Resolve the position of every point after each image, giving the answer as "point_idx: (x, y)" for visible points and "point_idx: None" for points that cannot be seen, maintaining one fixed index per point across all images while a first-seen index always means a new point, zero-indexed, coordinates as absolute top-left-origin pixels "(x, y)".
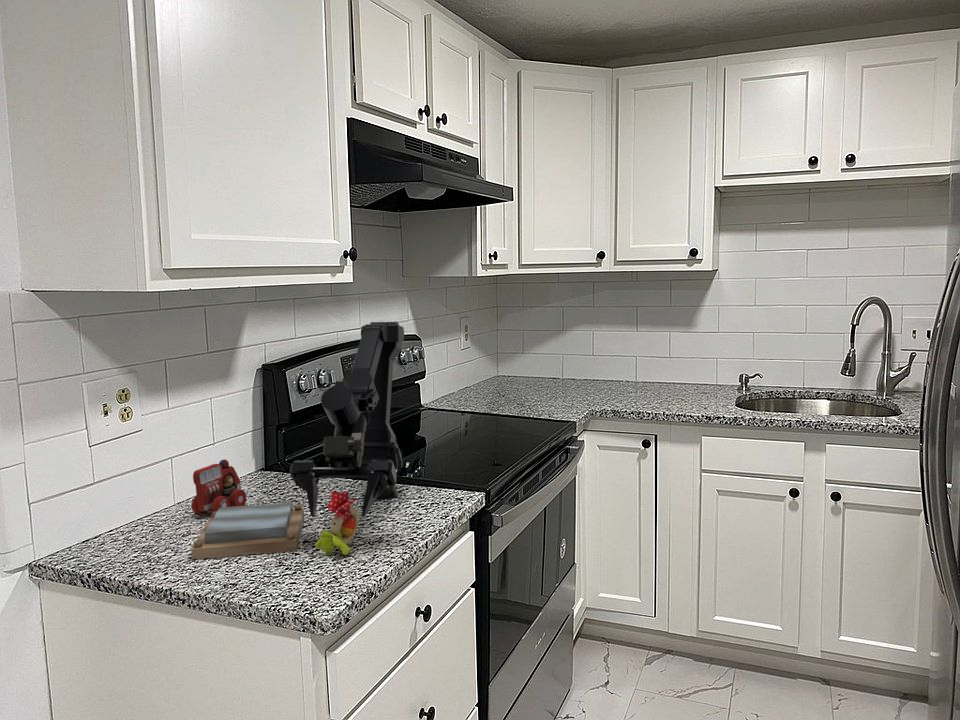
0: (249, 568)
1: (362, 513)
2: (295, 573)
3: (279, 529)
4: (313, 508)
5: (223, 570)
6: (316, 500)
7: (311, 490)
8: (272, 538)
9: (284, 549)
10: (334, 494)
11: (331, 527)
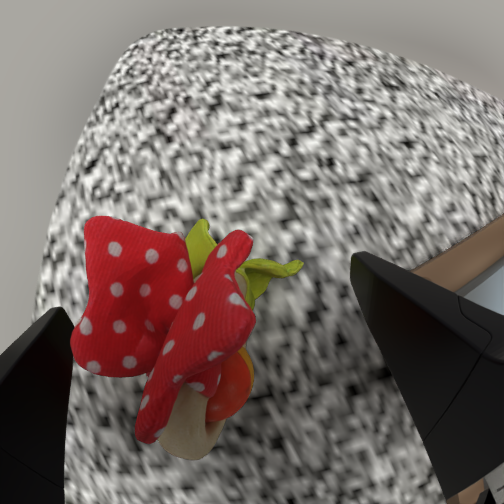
0: (421, 156)
1: (59, 307)
2: (287, 138)
3: (468, 290)
4: (368, 270)
5: (459, 145)
6: (407, 387)
7: (468, 327)
8: (466, 281)
9: (410, 271)
10: (210, 316)
11: (235, 273)
